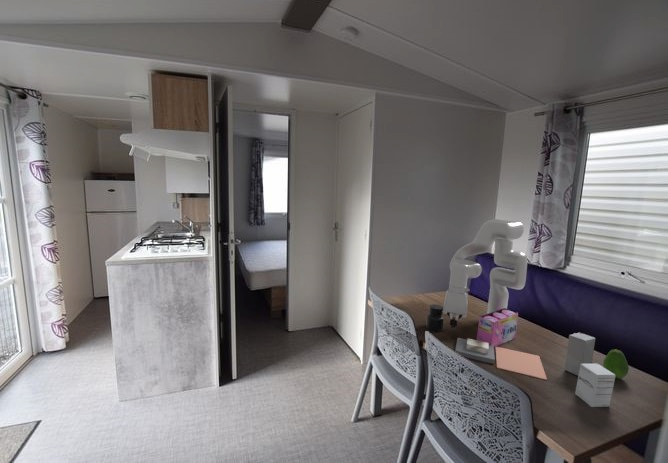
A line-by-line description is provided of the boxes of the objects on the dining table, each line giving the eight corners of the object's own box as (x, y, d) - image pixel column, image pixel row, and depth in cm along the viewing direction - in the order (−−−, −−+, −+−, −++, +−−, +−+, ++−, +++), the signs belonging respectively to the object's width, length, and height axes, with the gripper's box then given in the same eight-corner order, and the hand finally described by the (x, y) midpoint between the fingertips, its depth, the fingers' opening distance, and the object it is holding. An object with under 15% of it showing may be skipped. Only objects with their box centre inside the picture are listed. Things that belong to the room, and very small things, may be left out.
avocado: (596, 371, 139) (601, 345, 137) (614, 371, 139) (619, 345, 137) (613, 383, 131) (618, 355, 129) (632, 383, 131) (637, 355, 129)
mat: (495, 347, 156) (495, 346, 156) (539, 356, 149) (539, 355, 149) (496, 368, 138) (497, 367, 138) (546, 380, 131) (546, 379, 131)
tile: (466, 348, 149) (467, 343, 149) (467, 343, 155) (467, 338, 154) (488, 353, 146) (488, 348, 145) (487, 347, 151) (488, 342, 151)
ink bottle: (442, 325, 178) (444, 304, 176) (445, 332, 170) (448, 310, 168) (423, 323, 179) (425, 303, 177) (426, 331, 170) (428, 309, 169)
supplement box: (574, 394, 123) (579, 363, 121) (592, 393, 123) (598, 362, 122) (591, 407, 116) (597, 374, 114) (610, 407, 116) (616, 374, 114)
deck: (457, 341, 160) (457, 337, 160) (493, 349, 154) (493, 345, 154) (454, 354, 148) (455, 350, 148) (494, 363, 141) (494, 359, 141)
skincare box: (581, 378, 133) (587, 342, 131) (562, 369, 140) (567, 334, 137) (591, 373, 137) (598, 338, 135) (573, 364, 143) (578, 330, 141)
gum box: (502, 331, 174) (505, 307, 172) (517, 337, 167) (520, 312, 165) (475, 342, 161) (478, 316, 159) (491, 349, 154) (494, 322, 152)
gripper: (475, 289, 151) (470, 327, 153) (441, 284, 157) (437, 320, 159) (474, 294, 144) (469, 333, 147) (439, 288, 150) (435, 326, 153)
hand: (453, 326), depth 153 cm, fingers closed
